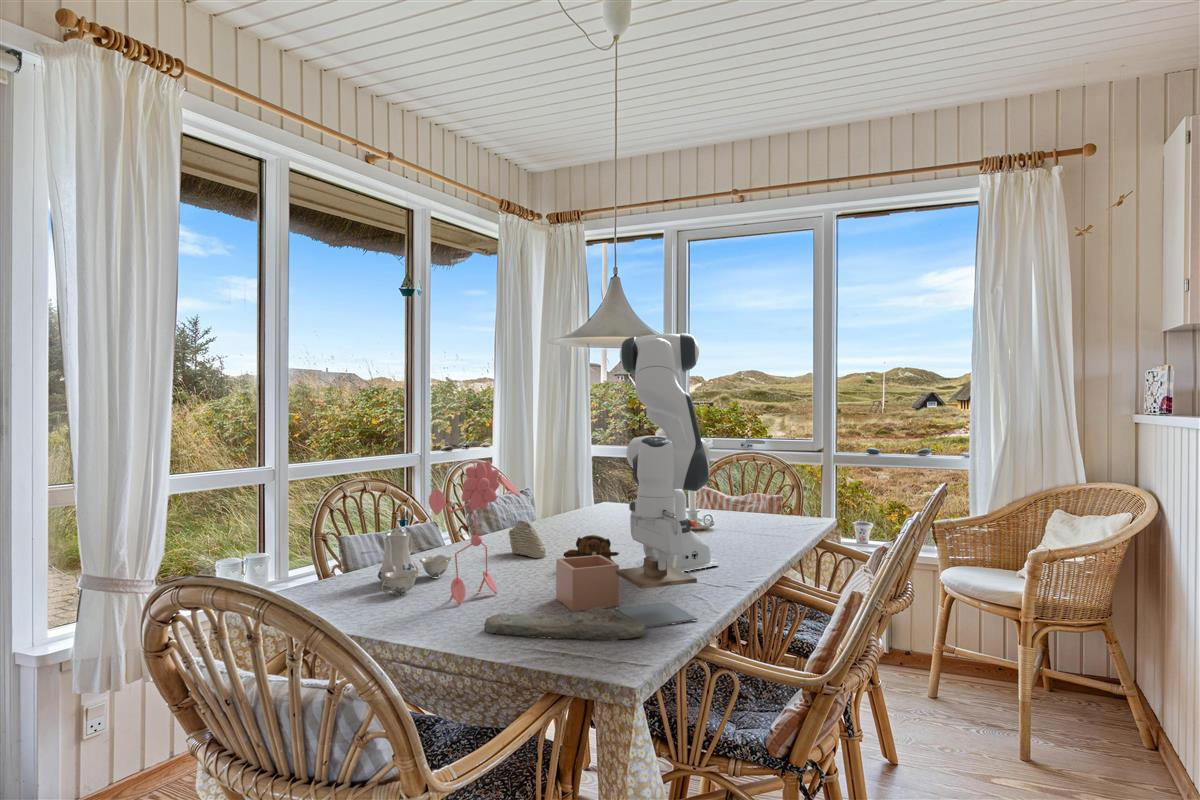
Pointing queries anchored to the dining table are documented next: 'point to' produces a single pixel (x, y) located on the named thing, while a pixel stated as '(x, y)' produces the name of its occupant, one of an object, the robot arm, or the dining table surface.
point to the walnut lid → (655, 575)
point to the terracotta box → (587, 582)
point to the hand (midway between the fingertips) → (655, 566)
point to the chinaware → (405, 563)
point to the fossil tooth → (526, 540)
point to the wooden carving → (591, 547)
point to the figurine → (479, 494)
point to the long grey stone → (568, 625)
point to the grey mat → (657, 614)
